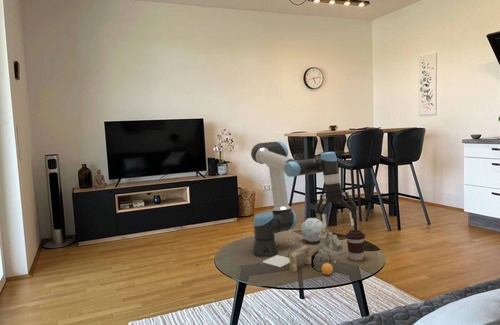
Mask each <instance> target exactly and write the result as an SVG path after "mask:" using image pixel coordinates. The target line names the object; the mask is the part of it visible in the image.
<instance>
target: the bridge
mask: <svg viewBox="0 0 500 325" xmlns="http://www.w3.org/2000/svg"><path fill="white" fill-rule="evenodd" d="M311 251H312V249H311V246H310V245H304V246H302V247H300V248H298V249H295V250H293V251H291V252H289V253H288V256H289V257H288V258H289V261H290V263H289V271H290V272H292V273H296V272H298V264H297V263H298V262H297V256H299V255H301V254H303V259H304V260H303V261H304V265H308V266H309V265H312V252H311Z"/></svg>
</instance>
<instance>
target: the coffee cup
mask: <svg viewBox="0 0 500 325" xmlns="http://www.w3.org/2000/svg"><path fill="white" fill-rule="evenodd" d="M345 238H346V239H347V241H346V243H347V251H348V256H349V260H352V261H355V262H358V261H362V260H364V252H365V238H366V234H365V233H364V232H363V231H362V230H359V229H351V230H349V231H348V232H346V233H345Z"/></svg>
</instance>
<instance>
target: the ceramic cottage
mask: <svg viewBox="0 0 500 325" xmlns="http://www.w3.org/2000/svg"><path fill="white" fill-rule="evenodd" d="M319 238H320V240H319V243H318V250H317V251H318V254H321V255H324V256H329V257H333V258H335V257H336V258H337V257H338V258H339V257H340V256H341V257H342V256H343V255H344V254H345V253H344V251H343V246H342V245H343V243H342V242H341V240H340V239H339V238H338V236H337V234H334V233H333V232H329V231H326V229H325V230H324V228H323V227H322V231H320V235H319Z"/></svg>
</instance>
